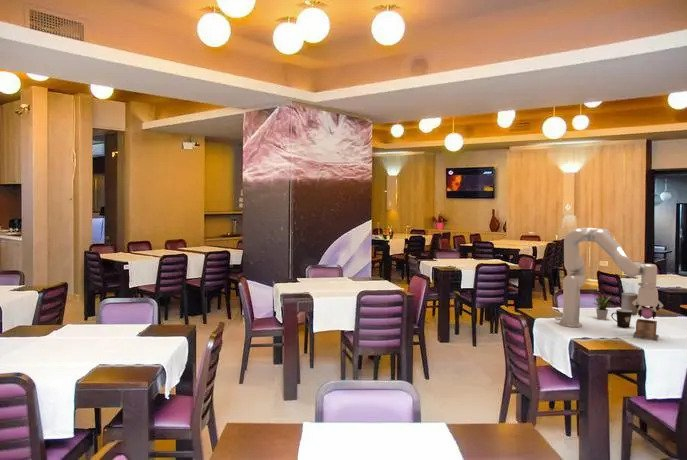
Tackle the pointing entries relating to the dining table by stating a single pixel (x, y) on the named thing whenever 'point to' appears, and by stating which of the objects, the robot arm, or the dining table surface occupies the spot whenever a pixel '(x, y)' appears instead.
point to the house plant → (602, 307)
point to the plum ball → (647, 313)
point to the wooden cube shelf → (646, 329)
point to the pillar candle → (629, 302)
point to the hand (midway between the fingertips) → (646, 317)
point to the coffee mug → (623, 318)
